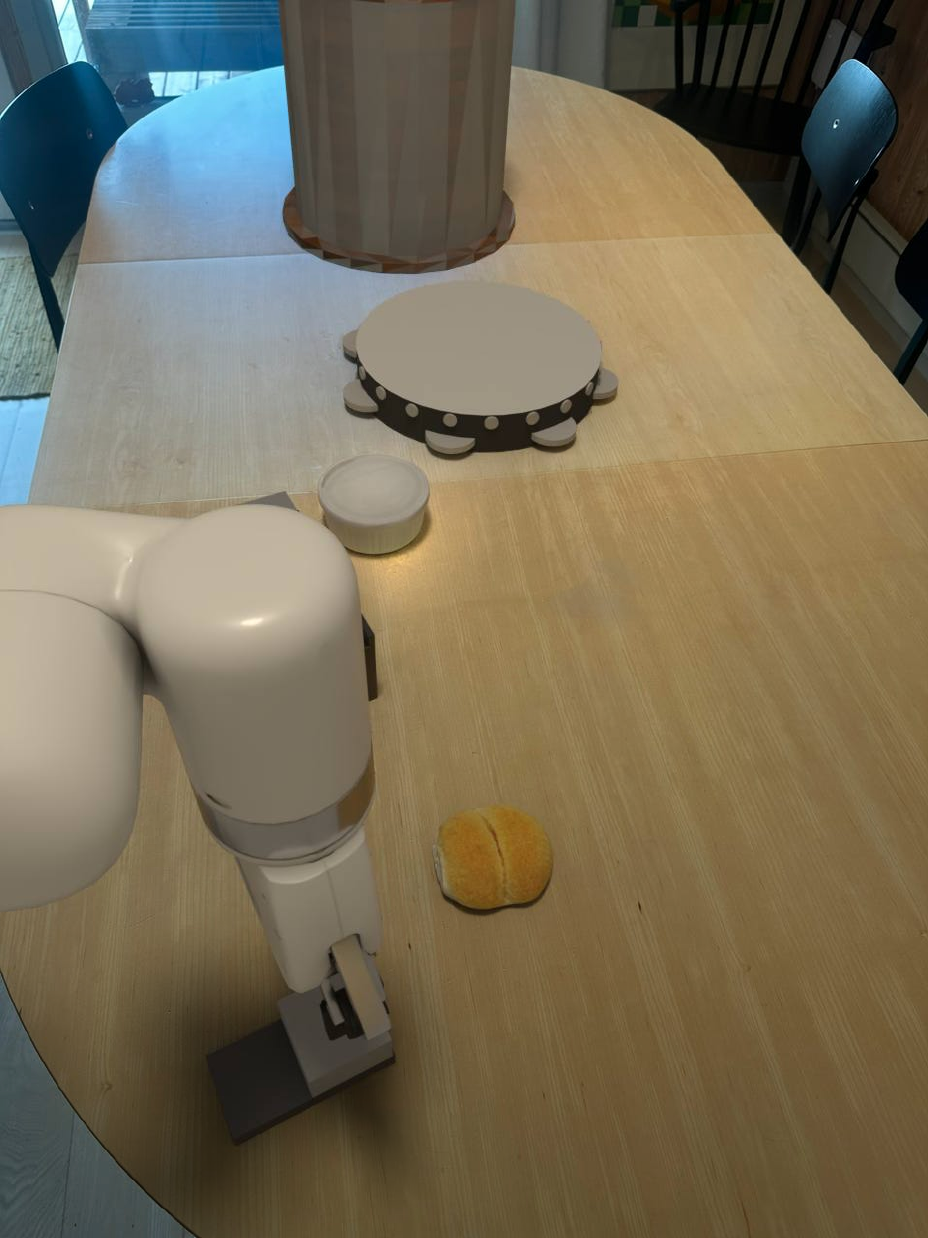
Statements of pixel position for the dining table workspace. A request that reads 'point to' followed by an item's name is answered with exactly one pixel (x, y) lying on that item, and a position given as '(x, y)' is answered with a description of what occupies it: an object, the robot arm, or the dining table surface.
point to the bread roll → (492, 857)
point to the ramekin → (374, 501)
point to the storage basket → (398, 130)
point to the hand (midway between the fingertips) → (320, 943)
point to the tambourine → (477, 367)
